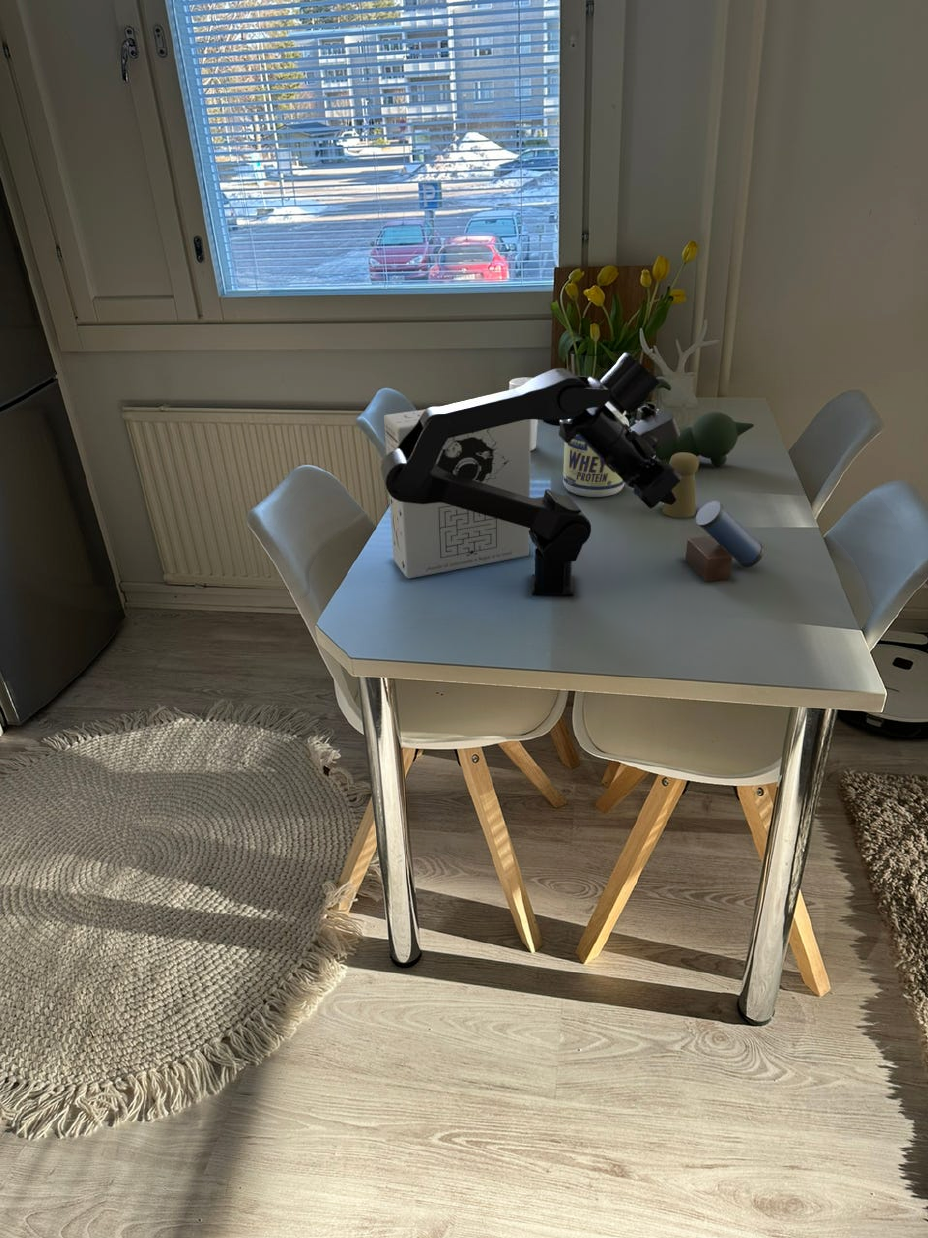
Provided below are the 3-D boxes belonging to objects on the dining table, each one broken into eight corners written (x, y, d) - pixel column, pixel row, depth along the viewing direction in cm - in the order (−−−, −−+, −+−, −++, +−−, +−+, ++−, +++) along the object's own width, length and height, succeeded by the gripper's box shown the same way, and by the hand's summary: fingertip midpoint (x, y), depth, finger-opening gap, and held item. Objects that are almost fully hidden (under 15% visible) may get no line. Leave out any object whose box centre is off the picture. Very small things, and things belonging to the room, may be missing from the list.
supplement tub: (556, 495, 171) (559, 410, 162) (570, 474, 181) (573, 392, 172) (618, 502, 167) (624, 414, 159) (629, 480, 177) (635, 397, 169)
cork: (658, 514, 161) (663, 457, 156) (667, 503, 166) (673, 447, 161) (690, 519, 159) (697, 461, 153) (699, 508, 164) (706, 451, 158)
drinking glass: (503, 446, 197) (503, 379, 190) (530, 441, 200) (531, 375, 192) (517, 455, 192) (518, 386, 184) (544, 450, 194) (546, 382, 187)
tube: (698, 578, 139) (705, 509, 133) (686, 565, 143) (693, 498, 137) (766, 569, 141) (776, 501, 135) (753, 557, 145) (762, 491, 139)
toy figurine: (628, 476, 184) (753, 471, 178) (626, 386, 175) (758, 378, 169) (630, 461, 192) (750, 456, 186) (628, 374, 183) (754, 366, 177)
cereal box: (511, 539, 153) (512, 397, 141) (529, 556, 147) (531, 409, 135) (393, 560, 147) (383, 414, 134) (407, 579, 141) (397, 427, 128)
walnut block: (705, 582, 138) (708, 559, 136) (685, 560, 144) (687, 538, 142) (729, 579, 138) (732, 556, 136) (707, 558, 145) (710, 535, 143)
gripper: (674, 412, 117) (740, 483, 124) (625, 378, 133) (686, 443, 140) (614, 474, 120) (682, 540, 127) (573, 433, 136) (635, 493, 143)
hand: (672, 500), depth 134 cm, fingers closed
